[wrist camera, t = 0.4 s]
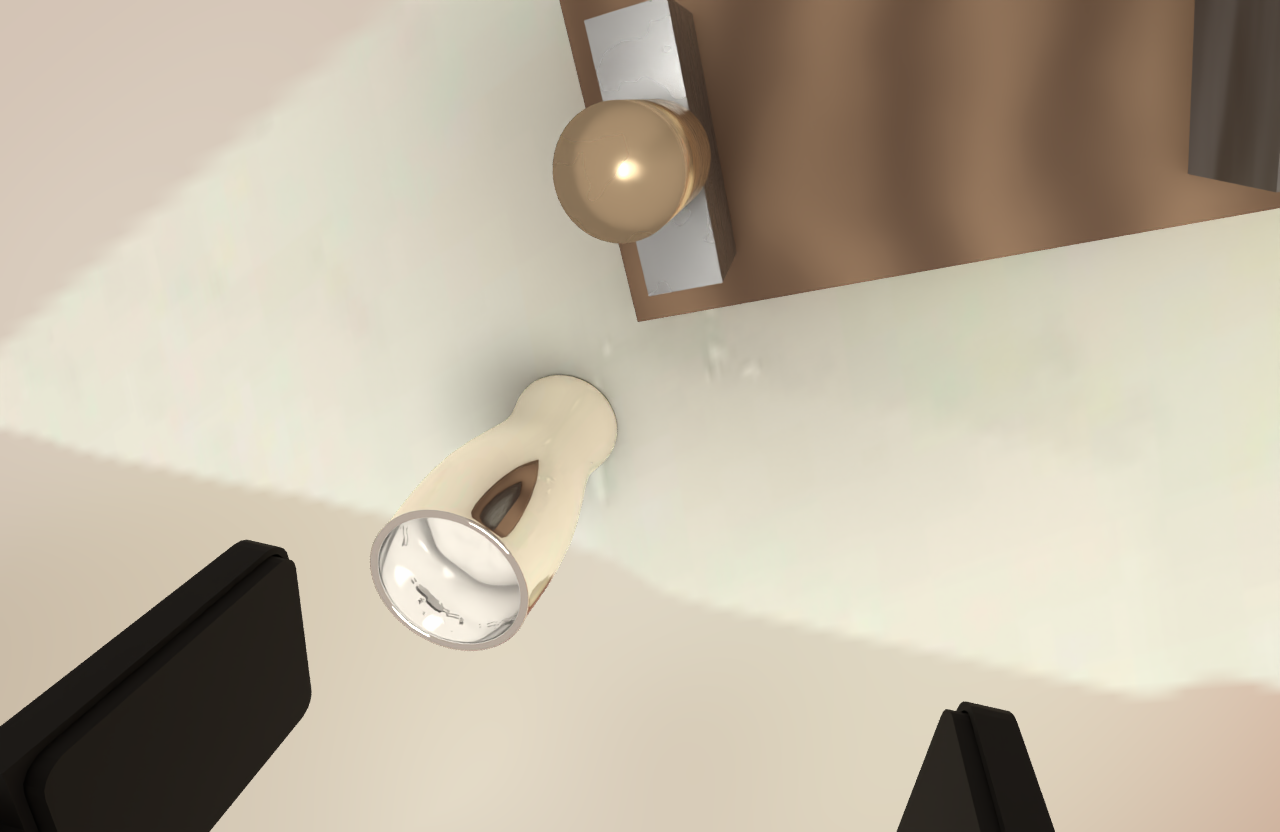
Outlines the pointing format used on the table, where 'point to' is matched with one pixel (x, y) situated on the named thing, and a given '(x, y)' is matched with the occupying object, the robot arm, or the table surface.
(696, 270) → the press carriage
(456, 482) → the beer glass
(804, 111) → the base
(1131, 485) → the table surface
